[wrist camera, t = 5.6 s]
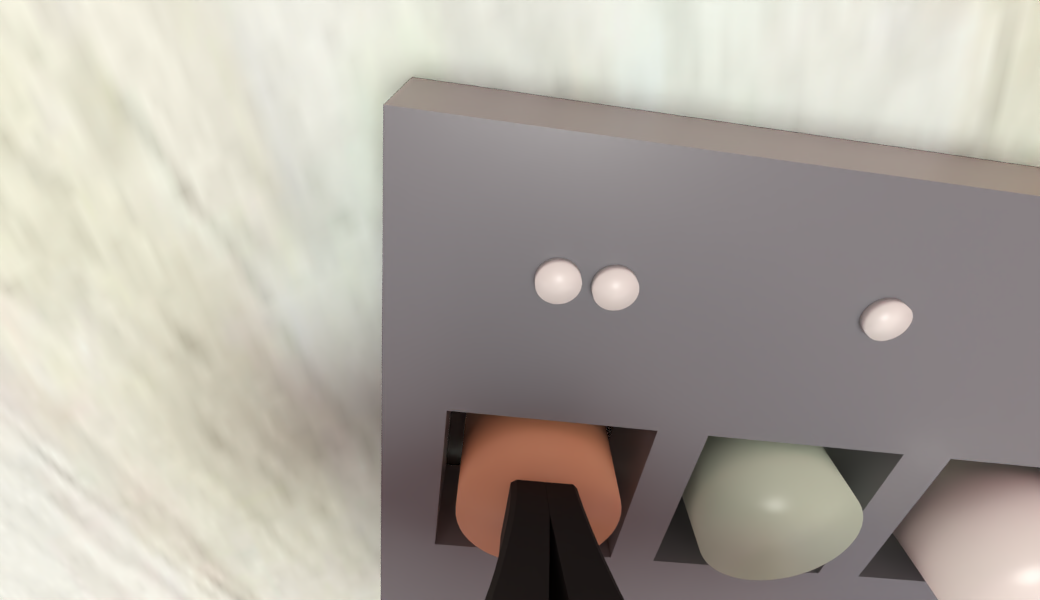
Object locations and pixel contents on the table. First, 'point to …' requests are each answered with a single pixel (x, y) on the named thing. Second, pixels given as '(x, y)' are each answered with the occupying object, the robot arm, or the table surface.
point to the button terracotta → (532, 471)
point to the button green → (769, 508)
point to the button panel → (694, 321)
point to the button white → (977, 532)
